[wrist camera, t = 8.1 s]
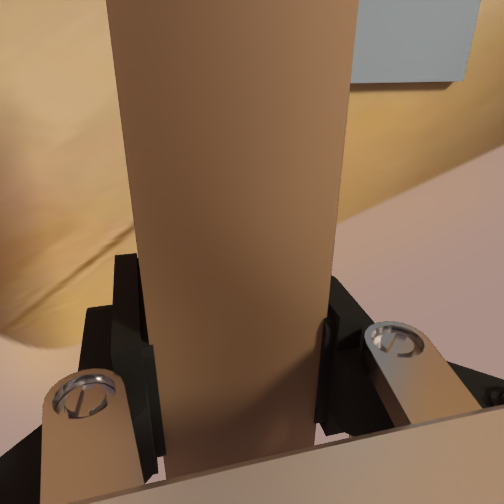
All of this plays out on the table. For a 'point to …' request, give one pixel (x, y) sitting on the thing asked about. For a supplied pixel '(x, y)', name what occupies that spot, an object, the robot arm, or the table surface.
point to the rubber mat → (413, 40)
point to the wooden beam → (234, 209)
